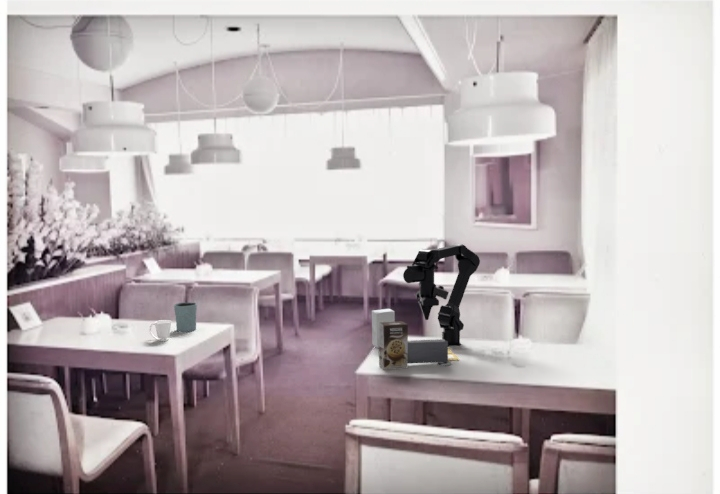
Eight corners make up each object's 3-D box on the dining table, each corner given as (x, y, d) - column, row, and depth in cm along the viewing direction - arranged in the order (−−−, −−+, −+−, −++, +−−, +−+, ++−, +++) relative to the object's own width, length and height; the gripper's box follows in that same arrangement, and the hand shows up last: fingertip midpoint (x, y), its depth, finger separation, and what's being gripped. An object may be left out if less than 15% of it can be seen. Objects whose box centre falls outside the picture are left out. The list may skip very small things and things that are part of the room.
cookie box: (384, 370, 224) (383, 325, 223) (378, 365, 230) (378, 321, 229) (408, 368, 226) (408, 323, 225) (402, 363, 233) (402, 320, 231)
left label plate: (454, 354, 244) (454, 353, 244) (459, 360, 236) (459, 359, 236) (439, 355, 244) (439, 354, 243) (443, 360, 236) (443, 359, 236)
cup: (166, 342, 267) (166, 323, 267) (145, 341, 270) (144, 322, 269) (175, 338, 274) (174, 320, 274) (154, 337, 277) (154, 319, 276)
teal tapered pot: (181, 333, 284) (180, 306, 283) (171, 329, 292) (170, 304, 291) (201, 329, 291) (200, 304, 290) (191, 326, 298) (190, 301, 297)
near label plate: (448, 349, 253) (448, 347, 253) (452, 354, 245) (452, 353, 245) (433, 349, 252) (433, 348, 252) (437, 354, 244) (437, 353, 244)
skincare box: (390, 343, 263) (389, 308, 262) (395, 346, 257) (395, 310, 256) (371, 345, 260) (371, 309, 259) (376, 348, 255) (376, 312, 253)
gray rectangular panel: (446, 360, 232) (446, 339, 232) (447, 362, 230) (447, 340, 230) (404, 362, 231) (404, 340, 230) (405, 363, 229) (405, 341, 228)
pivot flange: (449, 362, 234) (449, 360, 234) (452, 365, 229) (452, 364, 229) (436, 362, 234) (436, 360, 234) (438, 366, 229) (438, 364, 229)
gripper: (452, 284, 242) (451, 324, 243) (442, 277, 260) (441, 314, 262) (423, 284, 241) (423, 324, 242) (415, 277, 259) (415, 315, 261)
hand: (426, 319), depth 252 cm, fingers closed
